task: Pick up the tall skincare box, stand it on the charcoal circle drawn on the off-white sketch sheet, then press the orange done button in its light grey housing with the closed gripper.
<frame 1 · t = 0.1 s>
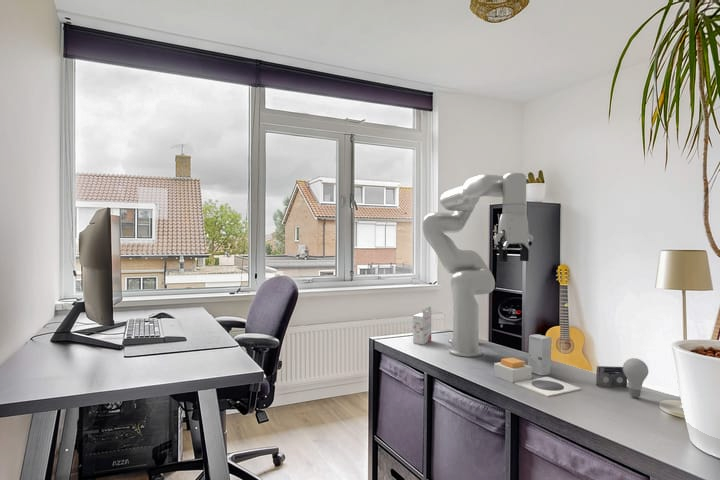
hand: (513, 261, 150), 37 cm above the shelf unit top, tool pointing down, fingers open, 9 cm apart
lightbulb: (635, 398, 125), on the shelf unit top
sketch sheet: (547, 386, 134), on the shelf unit top
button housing: (512, 377, 143), on the shelf unit top
ink cartridge box: (422, 342, 190), on the shelf unit top
done button: (512, 365, 142), point 4 cm above the shelf unit top, slide at 0.0 cm
skincare box: (539, 373, 148), on the shelf unit top
mini dv tape: (611, 387, 135), on the shelf unit top
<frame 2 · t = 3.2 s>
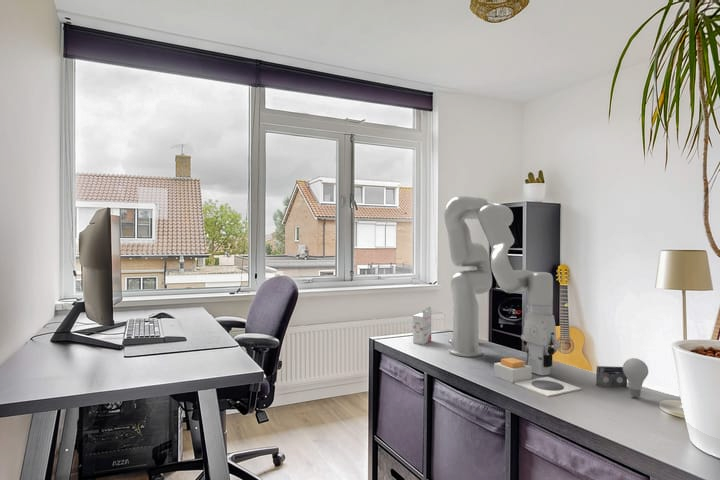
hand: (539, 363, 148), 3 cm above the shelf unit top, tool pointing down, fingers closed on skincare box, 6 cm apart
skincare box: (539, 373, 148), on the shelf unit top, touching gripper
everything else where it was.
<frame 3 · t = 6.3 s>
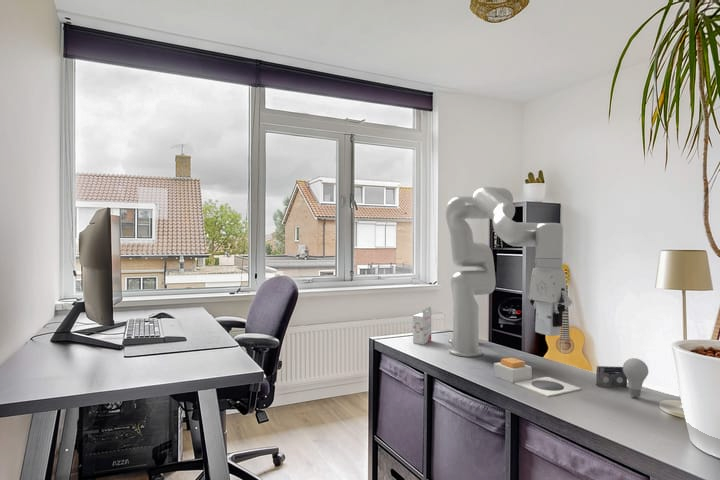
hand: (548, 323, 134), 19 cm above the shelf unit top, tool pointing down, fingers closed on skincare box, 6 cm apart
skincare box: (548, 334, 134), point 16 cm above the shelf unit top, touching gripper
everything else where it was.
when the fingers open (4 cm above the shelf unit top, at t = 9.3 s): skincare box stays where it is, resting on sketch sheet.
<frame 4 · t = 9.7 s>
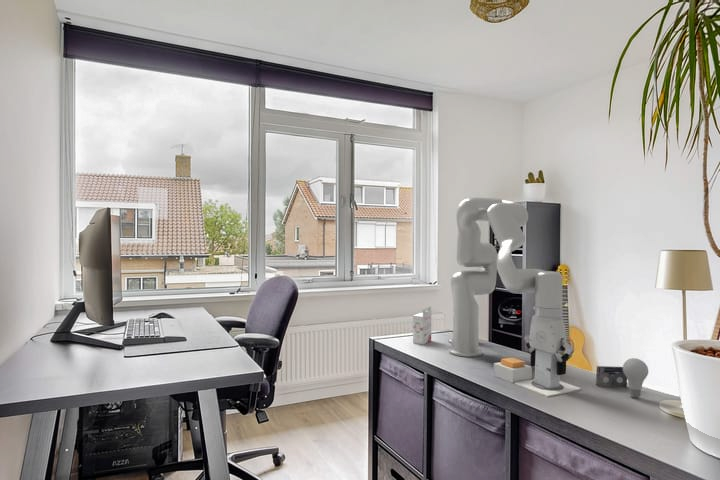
hand: (547, 369, 134), 5 cm above the shelf unit top, tool pointing down, fingers open, 9 cm apart
skincare box: (547, 385, 134), resting on sketch sheet
everything else where it was.
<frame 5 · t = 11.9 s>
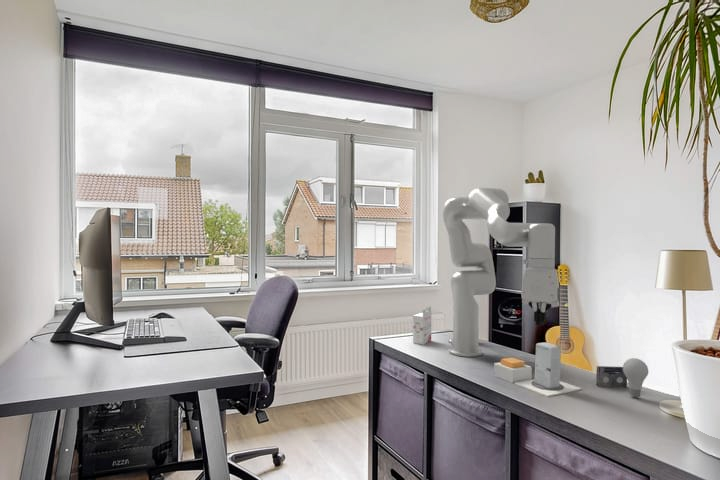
hand: (539, 324, 136), 18 cm above the shelf unit top, tool pointing down, fingers closed
nothing on the shelf unit top moved.
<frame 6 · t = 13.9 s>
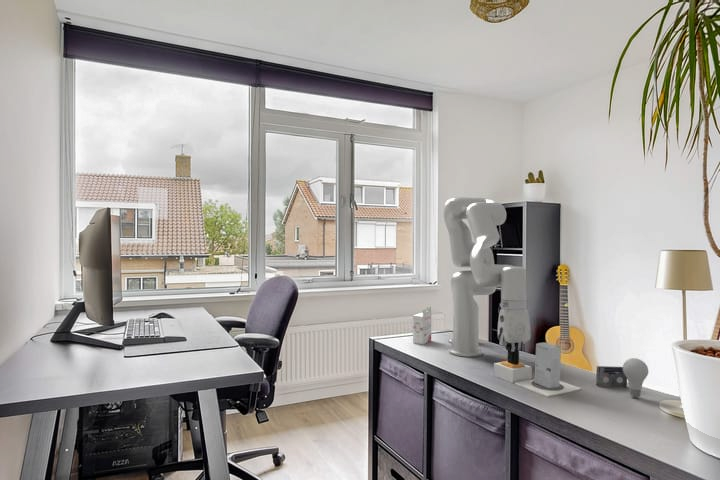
hand: (513, 363, 142), 5 cm above the shelf unit top, tool pointing down, fingers closed
done button: (512, 367, 142), point 3 cm above the shelf unit top, slide at 0.8 cm, touching gripper
everything else where it was.
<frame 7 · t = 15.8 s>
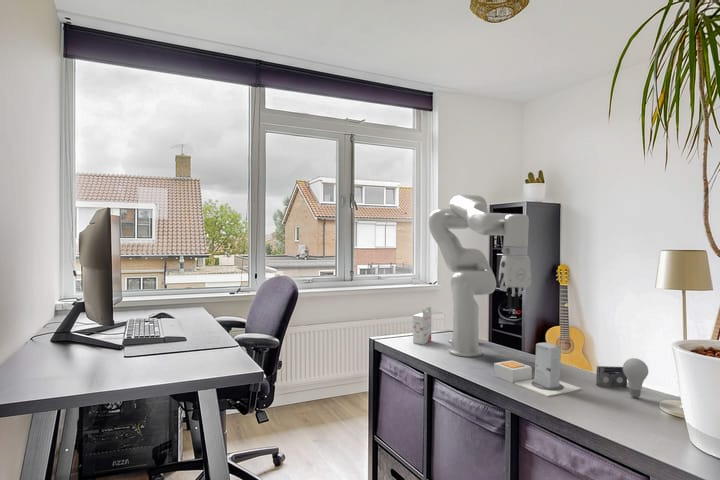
hand: (512, 307, 147), 22 cm above the shelf unit top, tool pointing down, fingers closed
done button: (512, 369, 143), point 3 cm above the shelf unit top, slide at 1.3 cm
everything else where it was.
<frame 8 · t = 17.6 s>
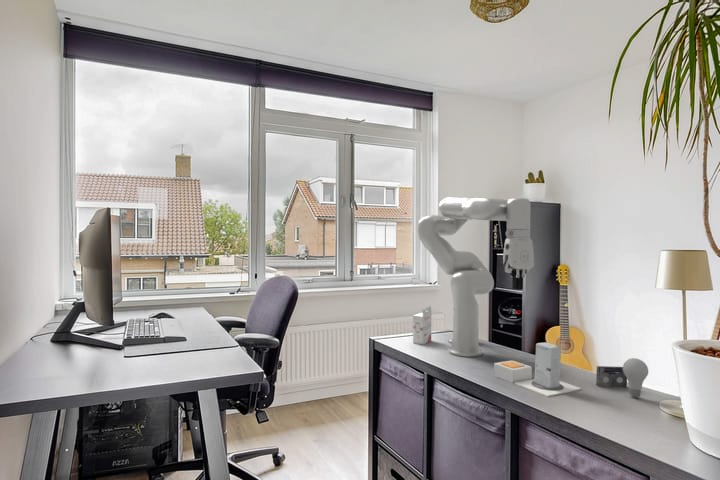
hand: (517, 289, 151), 27 cm above the shelf unit top, tool pointing down, fingers closed
nothing on the shelf unit top moved.
at the end: skincare box 0.1 cm off-centre on the sketch sheet, point 0.3 cm above the sketch sheet's base; skincare box tilted 0°; done button slide at 1.3 cm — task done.
